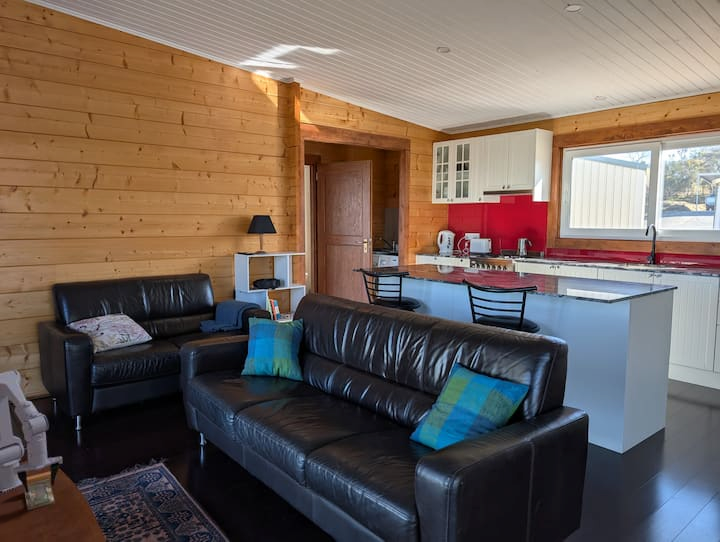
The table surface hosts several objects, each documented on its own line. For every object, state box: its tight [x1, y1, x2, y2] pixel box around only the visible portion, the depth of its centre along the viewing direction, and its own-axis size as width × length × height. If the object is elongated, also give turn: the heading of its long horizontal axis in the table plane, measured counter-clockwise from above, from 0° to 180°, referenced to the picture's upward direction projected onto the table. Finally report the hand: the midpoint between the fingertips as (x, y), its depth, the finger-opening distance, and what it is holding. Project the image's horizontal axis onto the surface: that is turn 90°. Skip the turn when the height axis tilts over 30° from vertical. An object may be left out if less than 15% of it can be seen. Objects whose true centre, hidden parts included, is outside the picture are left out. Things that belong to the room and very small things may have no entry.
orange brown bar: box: [27, 471, 51, 484], centre depth 191 cm, size 2×9×2 cm, turn 127°
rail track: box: [23, 478, 56, 511], centre depth 188 cm, size 14×8×4 cm, turn 37°
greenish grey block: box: [33, 485, 48, 505], centre depth 183 cm, size 4×4×5 cm
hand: (39, 487), depth 183 cm, fingers open, 7 cm apart
